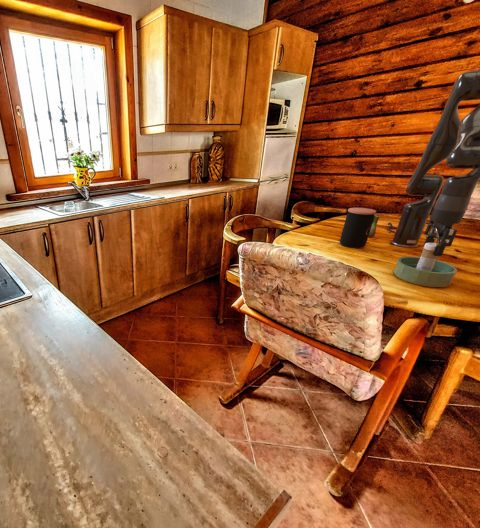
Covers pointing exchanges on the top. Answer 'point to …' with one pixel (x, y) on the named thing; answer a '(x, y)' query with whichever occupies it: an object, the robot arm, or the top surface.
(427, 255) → the sprinkles bottle
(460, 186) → the robot arm
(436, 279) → the shallow teal bowl
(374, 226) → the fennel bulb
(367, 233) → the coffee jar
